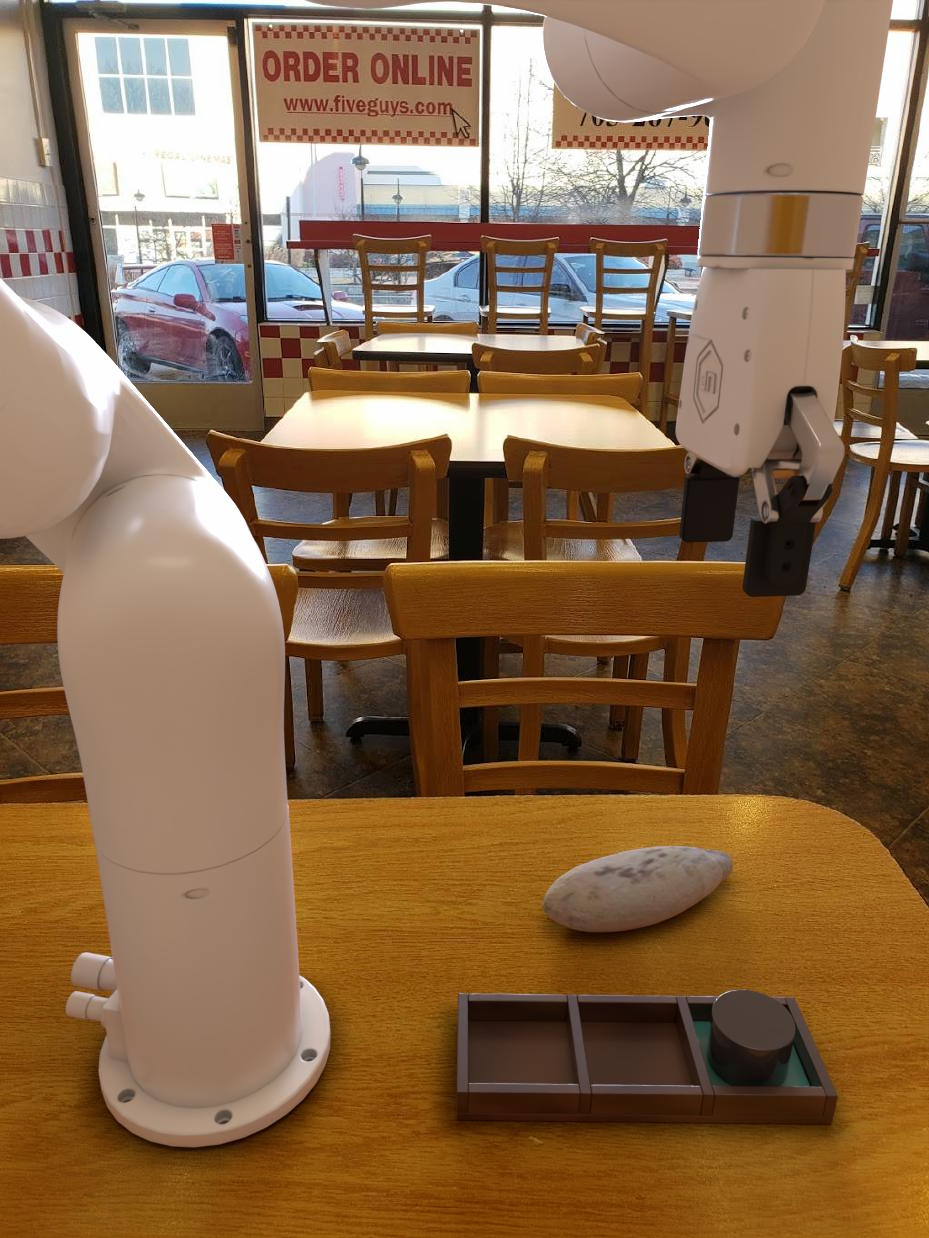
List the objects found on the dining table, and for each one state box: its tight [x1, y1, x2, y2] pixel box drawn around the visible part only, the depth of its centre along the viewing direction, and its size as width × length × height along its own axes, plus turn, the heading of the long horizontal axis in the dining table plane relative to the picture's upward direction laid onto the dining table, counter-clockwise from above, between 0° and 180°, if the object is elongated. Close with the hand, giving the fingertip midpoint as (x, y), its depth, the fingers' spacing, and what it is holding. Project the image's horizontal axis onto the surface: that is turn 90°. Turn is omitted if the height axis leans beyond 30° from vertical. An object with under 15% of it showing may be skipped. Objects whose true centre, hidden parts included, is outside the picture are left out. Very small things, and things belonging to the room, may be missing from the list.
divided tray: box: [455, 992, 839, 1125], centre depth 52 cm, size 20×7×2 cm, turn 90°
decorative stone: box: [541, 845, 734, 933], centre depth 65 cm, size 6×16×3 cm, turn 117°
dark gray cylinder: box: [706, 989, 795, 1087], centre depth 52 cm, size 4×4×3 cm
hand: (736, 565), depth 53 cm, fingers open, 9 cm apart
